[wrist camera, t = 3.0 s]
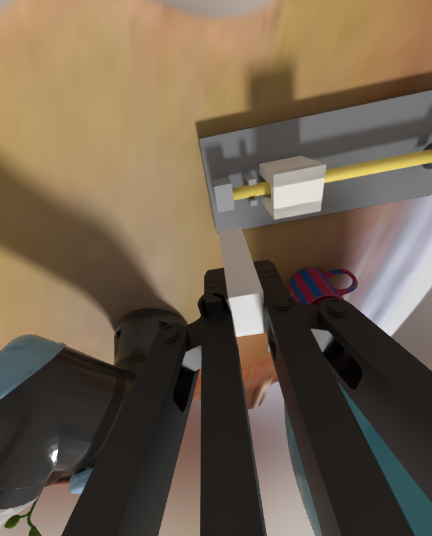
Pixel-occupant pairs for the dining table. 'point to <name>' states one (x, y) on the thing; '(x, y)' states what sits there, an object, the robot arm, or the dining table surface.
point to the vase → (402, 484)
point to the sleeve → (293, 186)
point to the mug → (317, 286)
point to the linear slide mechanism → (326, 159)
